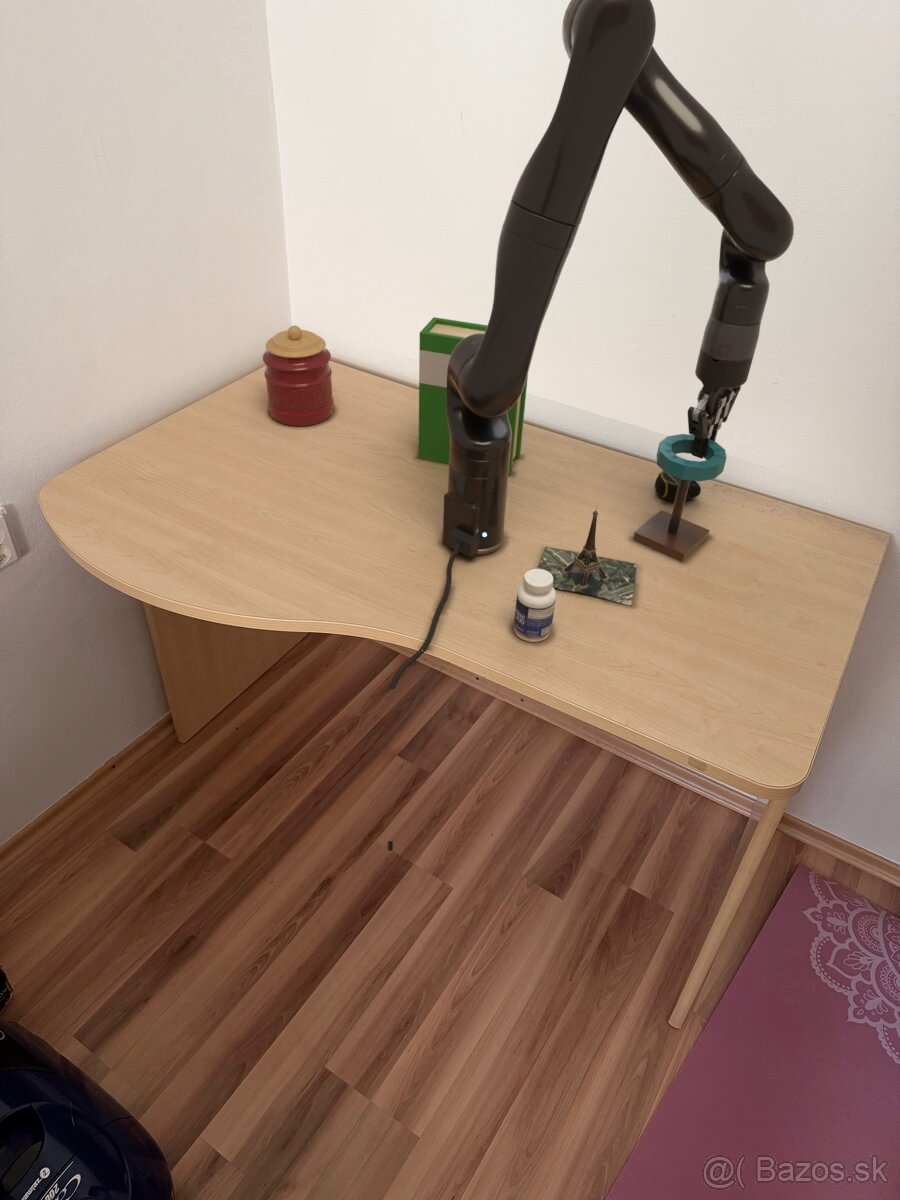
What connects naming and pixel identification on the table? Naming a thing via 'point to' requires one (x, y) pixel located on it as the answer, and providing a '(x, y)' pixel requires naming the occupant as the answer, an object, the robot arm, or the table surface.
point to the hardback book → (433, 389)
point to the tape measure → (674, 487)
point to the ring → (687, 467)
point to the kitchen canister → (298, 378)
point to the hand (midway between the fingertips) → (701, 452)
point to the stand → (672, 529)
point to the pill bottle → (535, 606)
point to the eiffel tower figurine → (590, 571)
